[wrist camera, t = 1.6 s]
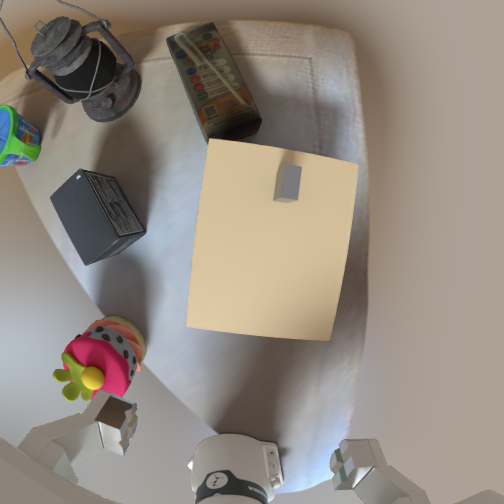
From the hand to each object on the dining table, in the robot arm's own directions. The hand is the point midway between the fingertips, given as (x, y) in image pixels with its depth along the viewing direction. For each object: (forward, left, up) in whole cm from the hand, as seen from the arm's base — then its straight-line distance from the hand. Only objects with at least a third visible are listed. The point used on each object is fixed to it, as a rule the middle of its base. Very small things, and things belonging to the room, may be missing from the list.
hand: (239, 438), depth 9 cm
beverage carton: (+28, -6, -33) cm, 44 cm away
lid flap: (+4, -5, -23) cm, 23 cm away
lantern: (+35, +10, -33) cm, 49 cm away
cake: (-4, +23, -33) cm, 40 cm away
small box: (+15, +15, -33) cm, 39 cm away
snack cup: (+35, +29, -33) cm, 56 cm away
